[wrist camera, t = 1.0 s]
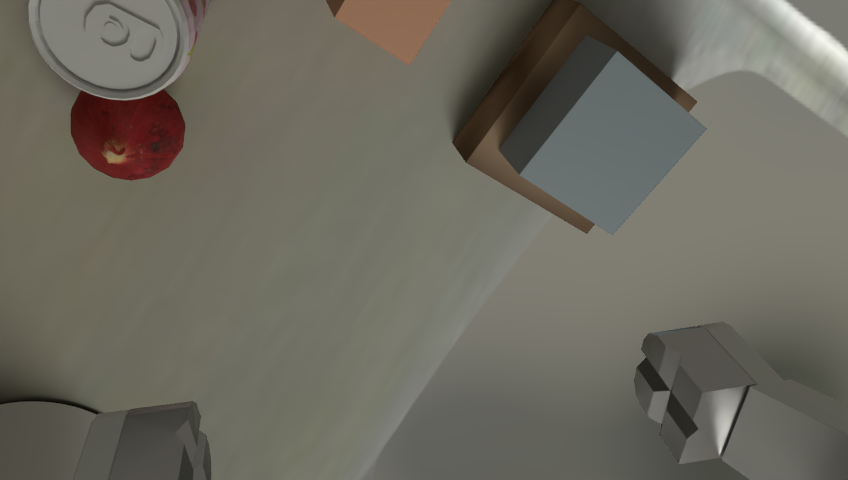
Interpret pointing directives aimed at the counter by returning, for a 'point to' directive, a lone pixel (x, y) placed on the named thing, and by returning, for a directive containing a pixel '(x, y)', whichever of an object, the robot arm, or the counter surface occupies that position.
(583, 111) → the grey block
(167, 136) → the onion
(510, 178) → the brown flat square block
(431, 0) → the rust cube
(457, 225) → the counter surface
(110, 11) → the beverage can
